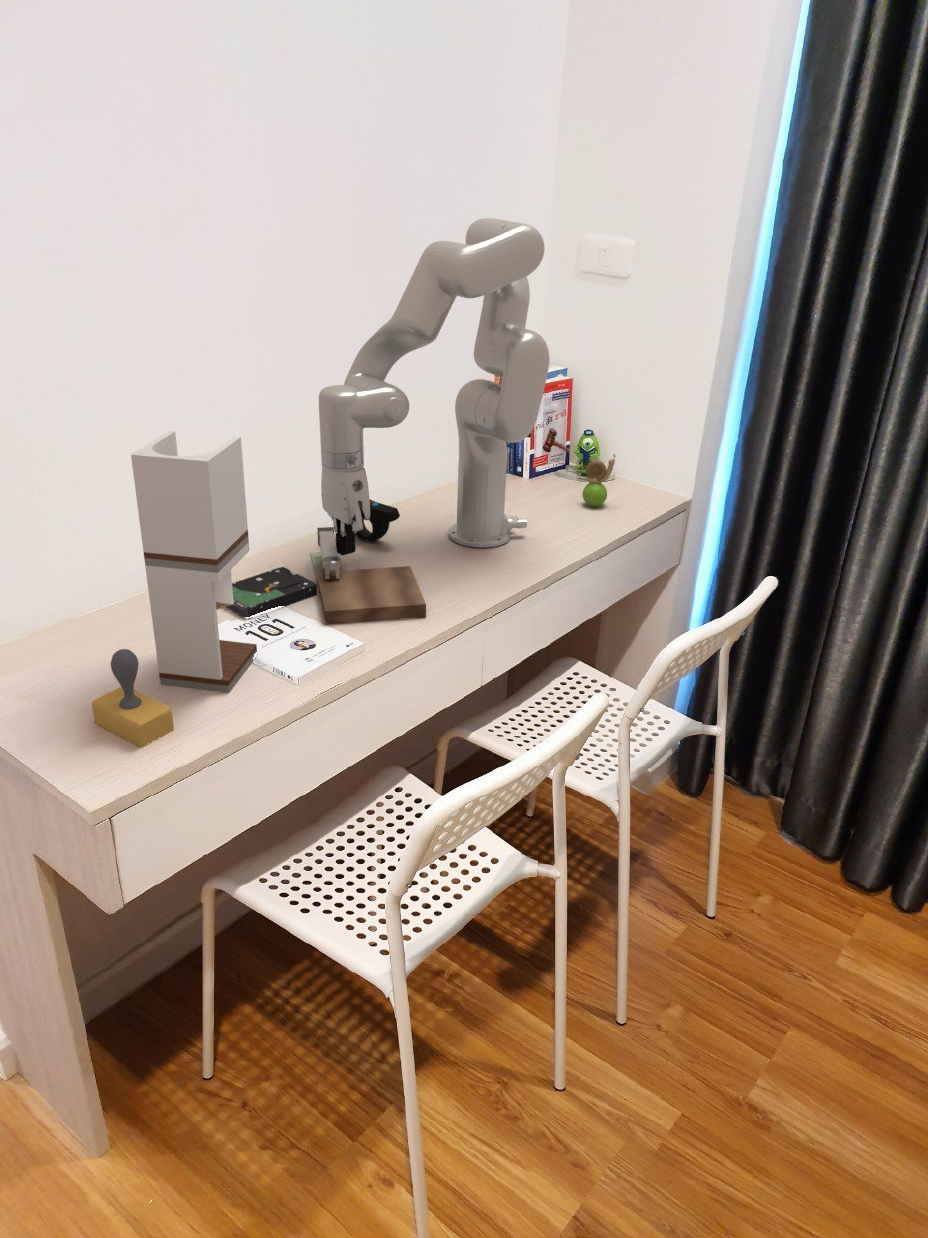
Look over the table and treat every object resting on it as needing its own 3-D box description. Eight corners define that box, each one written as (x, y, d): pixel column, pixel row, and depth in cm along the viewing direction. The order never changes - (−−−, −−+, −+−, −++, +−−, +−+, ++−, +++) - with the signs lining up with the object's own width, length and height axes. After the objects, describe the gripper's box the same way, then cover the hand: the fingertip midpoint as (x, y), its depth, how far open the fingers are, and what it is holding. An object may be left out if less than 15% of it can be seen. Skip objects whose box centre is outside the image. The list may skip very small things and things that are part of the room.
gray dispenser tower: (229, 692, 142) (207, 461, 126) (160, 684, 143) (130, 454, 128) (257, 655, 152) (240, 436, 136) (193, 648, 154) (169, 430, 138)
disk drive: (282, 579, 179) (213, 603, 169) (282, 565, 178) (212, 588, 168) (318, 597, 173) (248, 622, 163) (318, 583, 171) (247, 607, 162)
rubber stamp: (93, 724, 134) (80, 647, 128) (128, 706, 138) (116, 631, 133) (141, 749, 129) (129, 670, 124) (175, 729, 133) (166, 653, 128)
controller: (354, 530, 200) (353, 484, 195) (402, 545, 194) (402, 497, 189) (340, 536, 196) (339, 489, 192) (389, 551, 190) (389, 503, 186)
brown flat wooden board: (397, 549, 192) (397, 537, 190) (425, 617, 166) (426, 604, 164) (310, 554, 188) (310, 542, 187) (325, 624, 162) (324, 611, 161)
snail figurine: (611, 510, 215) (617, 457, 209) (582, 509, 215) (587, 456, 209) (608, 501, 219) (614, 450, 214) (580, 500, 219) (585, 449, 214)
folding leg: (341, 578, 171) (341, 562, 170) (323, 579, 171) (323, 563, 169) (334, 541, 186) (333, 526, 185) (317, 542, 186) (316, 527, 184)
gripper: (383, 464, 169) (385, 561, 178) (339, 443, 180) (342, 535, 188) (346, 472, 165) (349, 571, 174) (303, 450, 176) (308, 544, 184)
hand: (345, 552), depth 181 cm, fingers closed
